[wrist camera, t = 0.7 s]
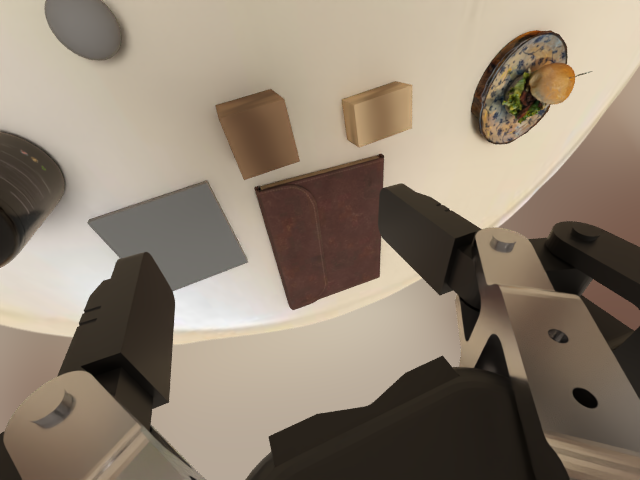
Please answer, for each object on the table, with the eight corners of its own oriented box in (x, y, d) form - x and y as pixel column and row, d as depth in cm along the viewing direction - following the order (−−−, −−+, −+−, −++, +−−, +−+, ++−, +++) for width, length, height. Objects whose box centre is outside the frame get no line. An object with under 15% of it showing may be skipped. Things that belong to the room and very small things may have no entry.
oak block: (394, 81, 28) (412, 85, 25) (395, 121, 30) (411, 128, 28) (340, 99, 27) (354, 105, 25) (346, 138, 29) (359, 147, 27)
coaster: (207, 180, 27) (207, 183, 26) (247, 259, 34) (247, 262, 33) (89, 219, 25) (87, 223, 25) (157, 293, 32) (156, 297, 32)
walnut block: (270, 89, 24) (284, 98, 20) (285, 143, 27) (299, 161, 24) (215, 105, 23) (218, 118, 20) (237, 159, 27) (244, 180, 23)
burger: (452, 124, 33) (504, 143, 27) (519, 7, 28) (601, 0, 22) (505, 151, 39) (558, 171, 33) (570, 58, 33) (645, 64, 28)
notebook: (379, 152, 32) (388, 158, 31) (376, 270, 45) (382, 278, 43) (253, 185, 29) (256, 193, 28) (287, 301, 42) (291, 311, 40)
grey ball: (102, -16, 18) (85, -25, 15) (137, 51, 20) (128, 53, 17) (42, -3, 17) (13, -10, 14) (85, 64, 19) (67, 69, 17)
